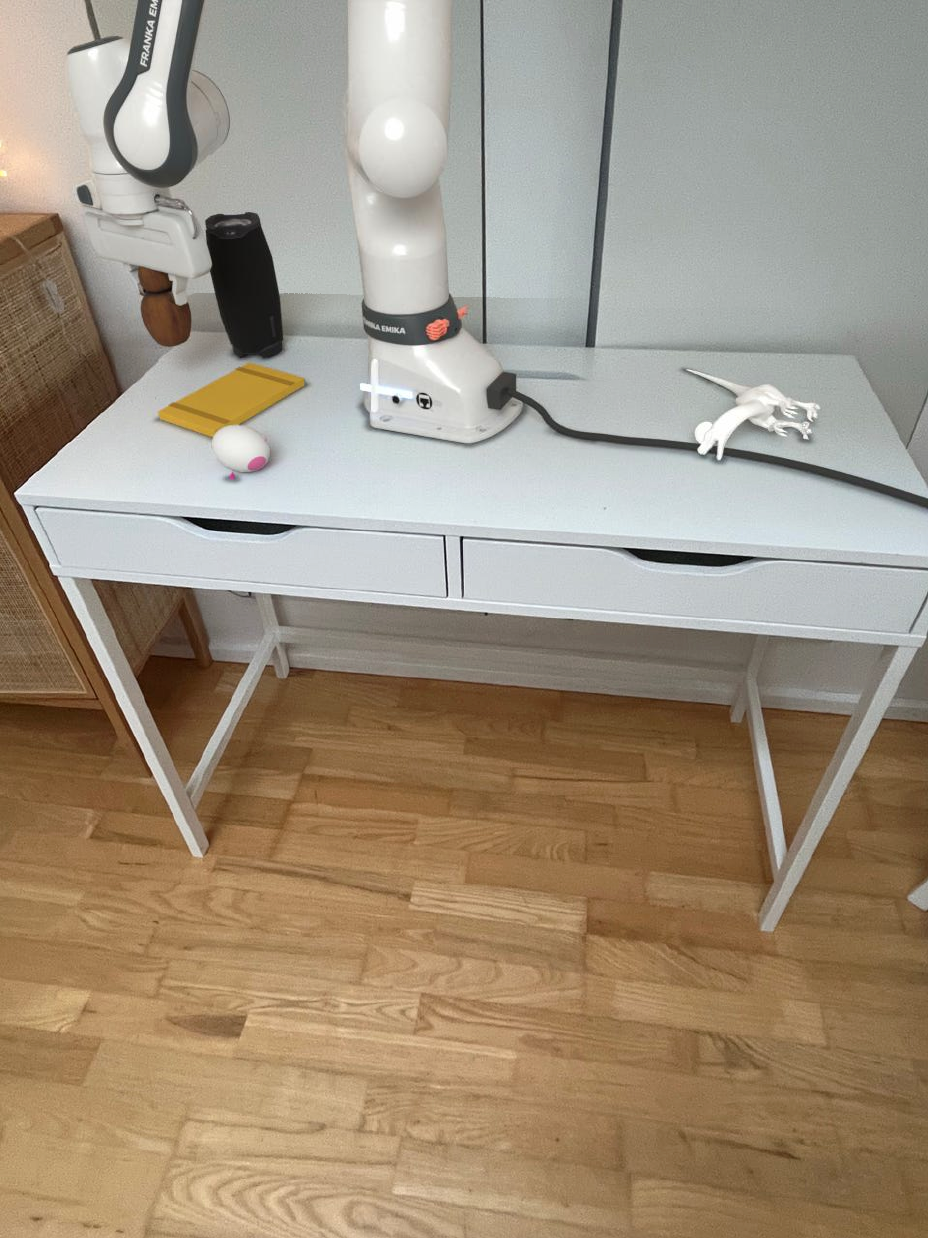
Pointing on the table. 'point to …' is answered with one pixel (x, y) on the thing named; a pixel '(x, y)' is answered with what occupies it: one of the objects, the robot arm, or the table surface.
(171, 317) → the wooden figurine
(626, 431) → the table surface
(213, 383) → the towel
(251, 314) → the portable speaker
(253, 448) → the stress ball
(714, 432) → the dinosaur
